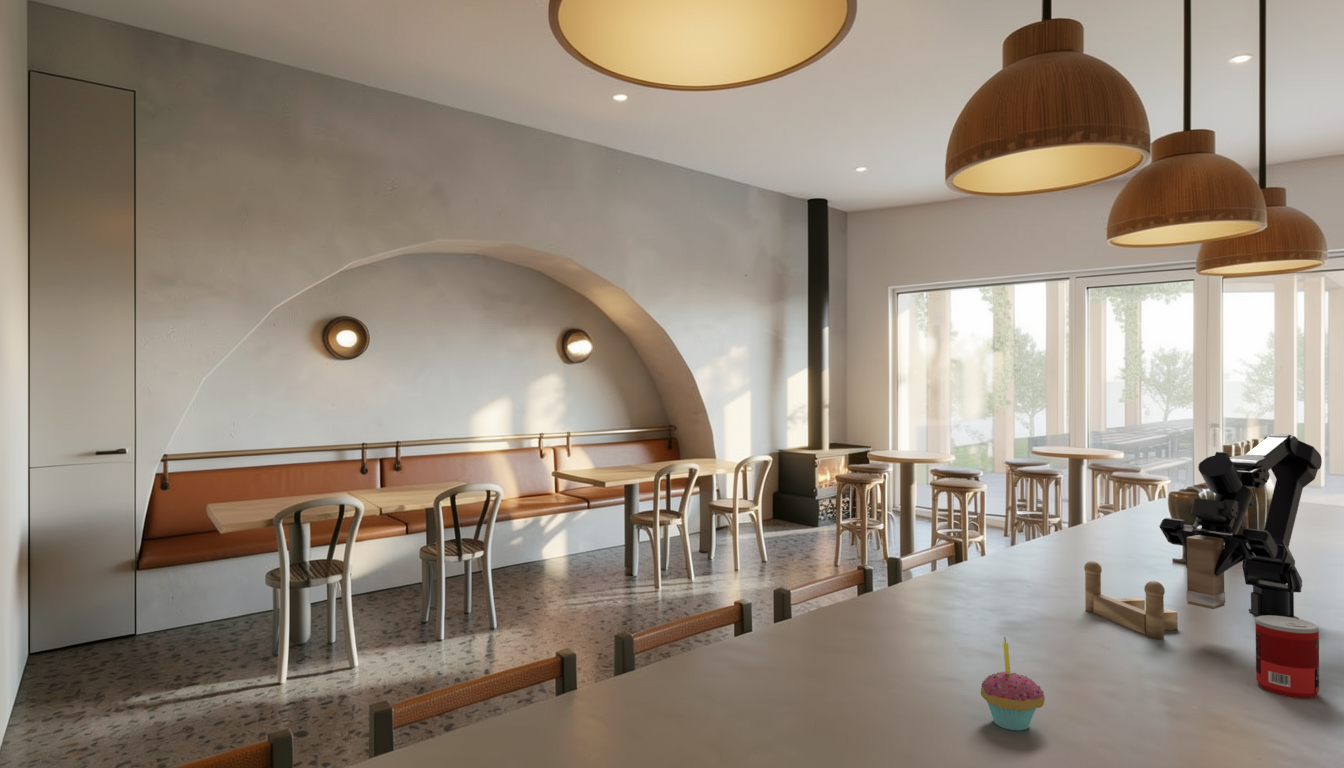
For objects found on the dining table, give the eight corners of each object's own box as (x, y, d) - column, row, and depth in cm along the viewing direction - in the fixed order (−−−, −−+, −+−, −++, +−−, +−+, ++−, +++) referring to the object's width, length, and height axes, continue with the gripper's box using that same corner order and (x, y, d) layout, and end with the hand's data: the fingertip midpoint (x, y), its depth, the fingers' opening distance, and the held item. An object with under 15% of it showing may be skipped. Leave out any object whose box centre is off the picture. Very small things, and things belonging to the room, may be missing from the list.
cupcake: (970, 712, 115) (969, 632, 115) (1024, 710, 116) (1023, 631, 116) (999, 738, 107) (998, 652, 107) (1057, 736, 107) (1056, 650, 108)
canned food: (1330, 701, 119) (1330, 630, 119) (1272, 697, 121) (1271, 627, 121) (1301, 683, 127) (1300, 616, 127) (1246, 679, 128) (1245, 613, 128)
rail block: (1198, 600, 152) (1197, 534, 152) (1225, 605, 148) (1224, 538, 148) (1186, 603, 150) (1185, 537, 150) (1213, 609, 146) (1212, 541, 146)
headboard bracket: (1120, 607, 171) (1120, 558, 171) (1198, 637, 150) (1197, 582, 150) (1081, 608, 170) (1080, 559, 170) (1153, 639, 149) (1153, 583, 149)
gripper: (1163, 478, 159) (1135, 537, 153) (1269, 488, 143) (1243, 554, 137) (1183, 513, 163) (1156, 571, 157) (1288, 526, 147) (1263, 591, 141)
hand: (1201, 571), depth 148 cm, fingers closed on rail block, 4 cm apart
